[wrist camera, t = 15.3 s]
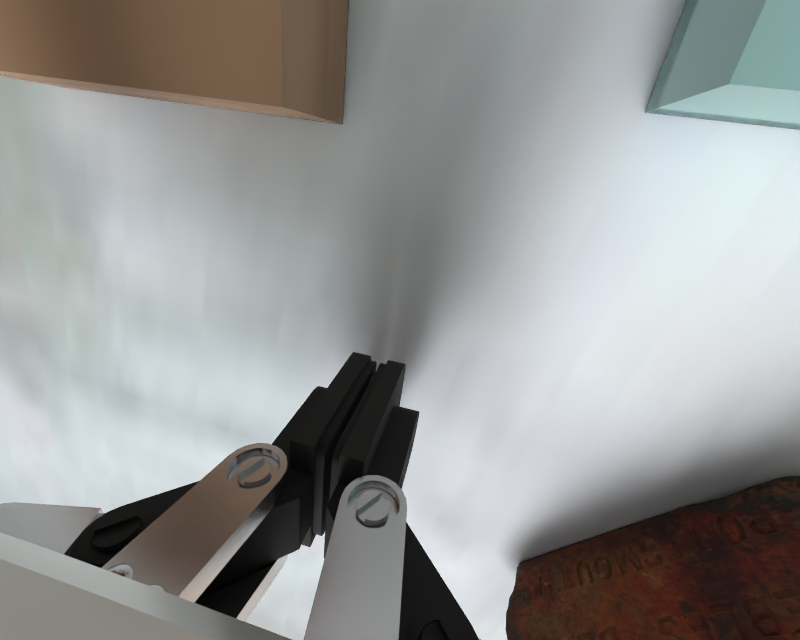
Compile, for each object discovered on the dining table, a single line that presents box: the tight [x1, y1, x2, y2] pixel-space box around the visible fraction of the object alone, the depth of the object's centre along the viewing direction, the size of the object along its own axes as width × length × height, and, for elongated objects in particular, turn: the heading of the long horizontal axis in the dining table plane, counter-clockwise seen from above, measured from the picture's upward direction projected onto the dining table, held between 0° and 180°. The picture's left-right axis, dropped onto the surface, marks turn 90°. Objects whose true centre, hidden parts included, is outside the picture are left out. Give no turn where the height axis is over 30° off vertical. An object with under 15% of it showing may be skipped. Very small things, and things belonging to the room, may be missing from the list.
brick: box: [506, 476, 800, 640], centre depth 11 cm, size 11×4×5 cm, turn 135°
